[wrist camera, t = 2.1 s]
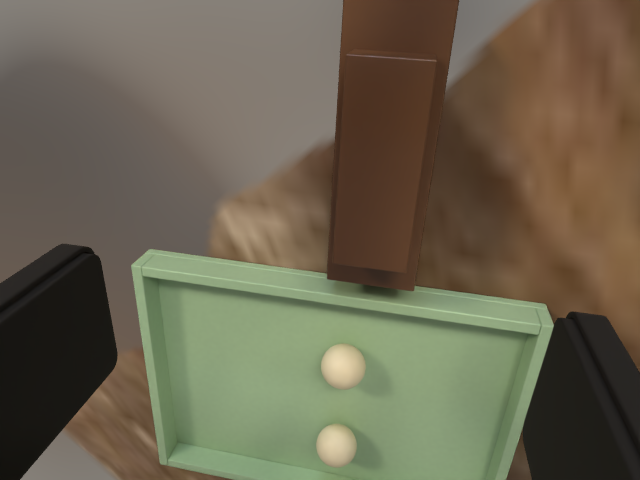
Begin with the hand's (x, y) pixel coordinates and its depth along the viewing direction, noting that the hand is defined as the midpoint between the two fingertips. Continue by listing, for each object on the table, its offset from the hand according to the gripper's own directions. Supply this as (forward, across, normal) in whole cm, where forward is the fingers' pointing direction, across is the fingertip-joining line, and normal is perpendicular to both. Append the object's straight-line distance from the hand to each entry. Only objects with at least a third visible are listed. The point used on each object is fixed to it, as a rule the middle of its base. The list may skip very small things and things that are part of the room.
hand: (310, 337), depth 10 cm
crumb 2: (+12, 0, +17) cm, 21 cm away
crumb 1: (+12, 0, +11) cm, 17 cm away
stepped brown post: (+14, -1, -1) cm, 14 cm away
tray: (+14, +1, +14) cm, 20 cm away
